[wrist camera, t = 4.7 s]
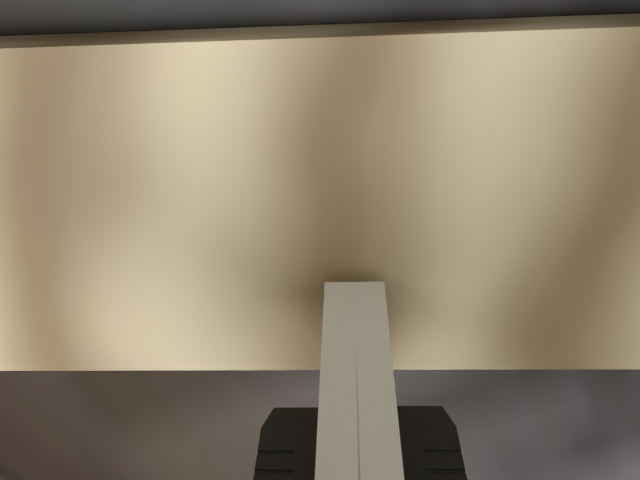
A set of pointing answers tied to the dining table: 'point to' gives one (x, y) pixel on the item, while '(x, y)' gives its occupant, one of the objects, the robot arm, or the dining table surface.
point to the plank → (322, 193)
